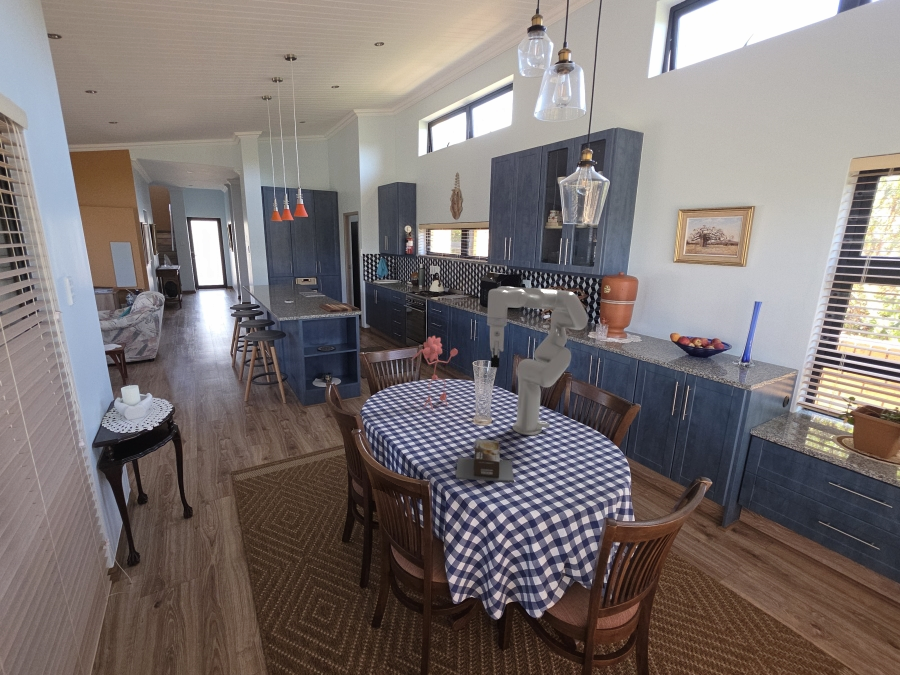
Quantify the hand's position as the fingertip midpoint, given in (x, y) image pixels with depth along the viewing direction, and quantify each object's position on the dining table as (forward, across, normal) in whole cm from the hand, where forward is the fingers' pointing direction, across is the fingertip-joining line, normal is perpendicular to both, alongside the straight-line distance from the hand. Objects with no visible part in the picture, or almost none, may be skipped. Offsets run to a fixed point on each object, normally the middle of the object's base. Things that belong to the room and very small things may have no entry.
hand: (494, 366), depth 173 cm
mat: (+32, -23, +3) cm, 40 cm away
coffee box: (+28, -13, +2) cm, 31 cm away
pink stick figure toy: (+32, +39, +29) cm, 58 cm away
